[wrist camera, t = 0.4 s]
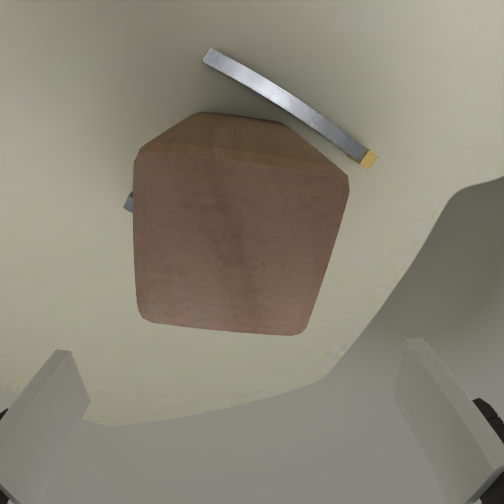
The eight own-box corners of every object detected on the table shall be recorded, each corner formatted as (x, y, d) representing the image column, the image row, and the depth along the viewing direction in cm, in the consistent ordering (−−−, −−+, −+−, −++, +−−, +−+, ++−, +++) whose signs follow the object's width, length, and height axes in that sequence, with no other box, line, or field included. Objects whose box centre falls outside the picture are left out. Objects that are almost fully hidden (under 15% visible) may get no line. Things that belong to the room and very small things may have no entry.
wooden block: (289, 123, 30) (362, 177, 13) (272, 210, 35) (307, 343, 17) (192, 110, 29) (127, 145, 11) (183, 200, 34) (134, 327, 16)
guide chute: (213, 51, 26) (210, 45, 22) (363, 148, 31) (378, 156, 28) (132, 197, 33) (121, 211, 30) (272, 269, 39) (276, 289, 35)
